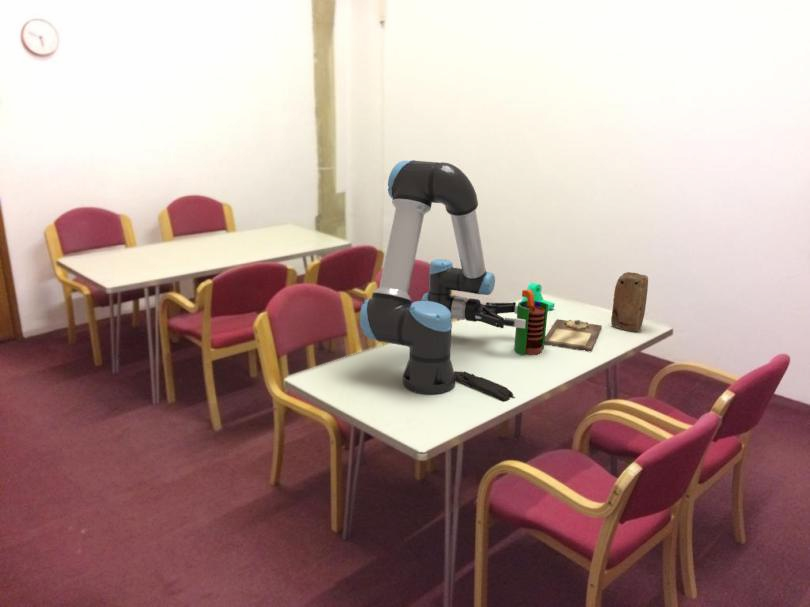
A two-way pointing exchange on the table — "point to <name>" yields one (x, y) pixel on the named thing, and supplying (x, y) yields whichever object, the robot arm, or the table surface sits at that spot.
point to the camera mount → (538, 294)
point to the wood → (485, 386)
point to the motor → (531, 325)
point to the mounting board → (573, 334)
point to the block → (629, 301)
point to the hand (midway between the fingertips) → (530, 317)
